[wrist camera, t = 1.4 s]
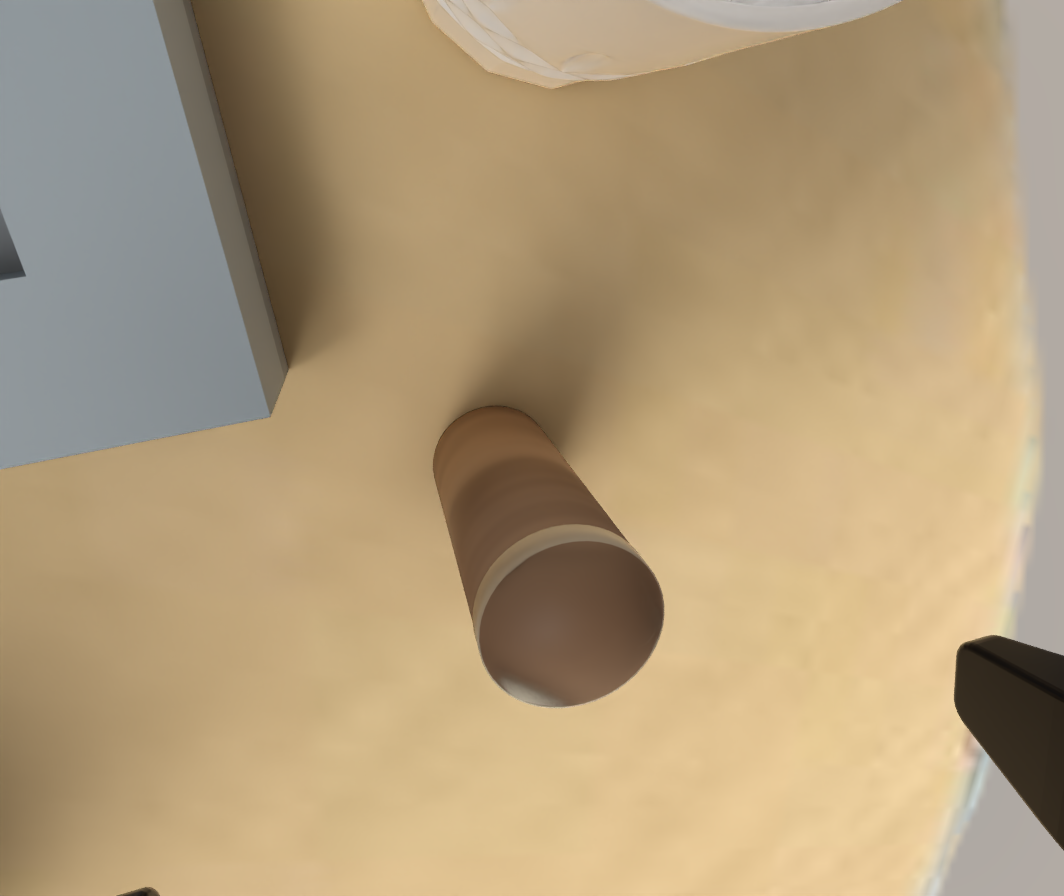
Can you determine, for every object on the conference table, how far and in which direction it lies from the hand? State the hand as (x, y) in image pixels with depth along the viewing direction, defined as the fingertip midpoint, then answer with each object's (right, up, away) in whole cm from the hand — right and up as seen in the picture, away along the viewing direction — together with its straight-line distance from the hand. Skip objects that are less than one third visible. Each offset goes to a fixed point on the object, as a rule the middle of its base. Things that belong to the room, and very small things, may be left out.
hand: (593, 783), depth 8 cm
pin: (-2, +3, +12) cm, 12 cm away
